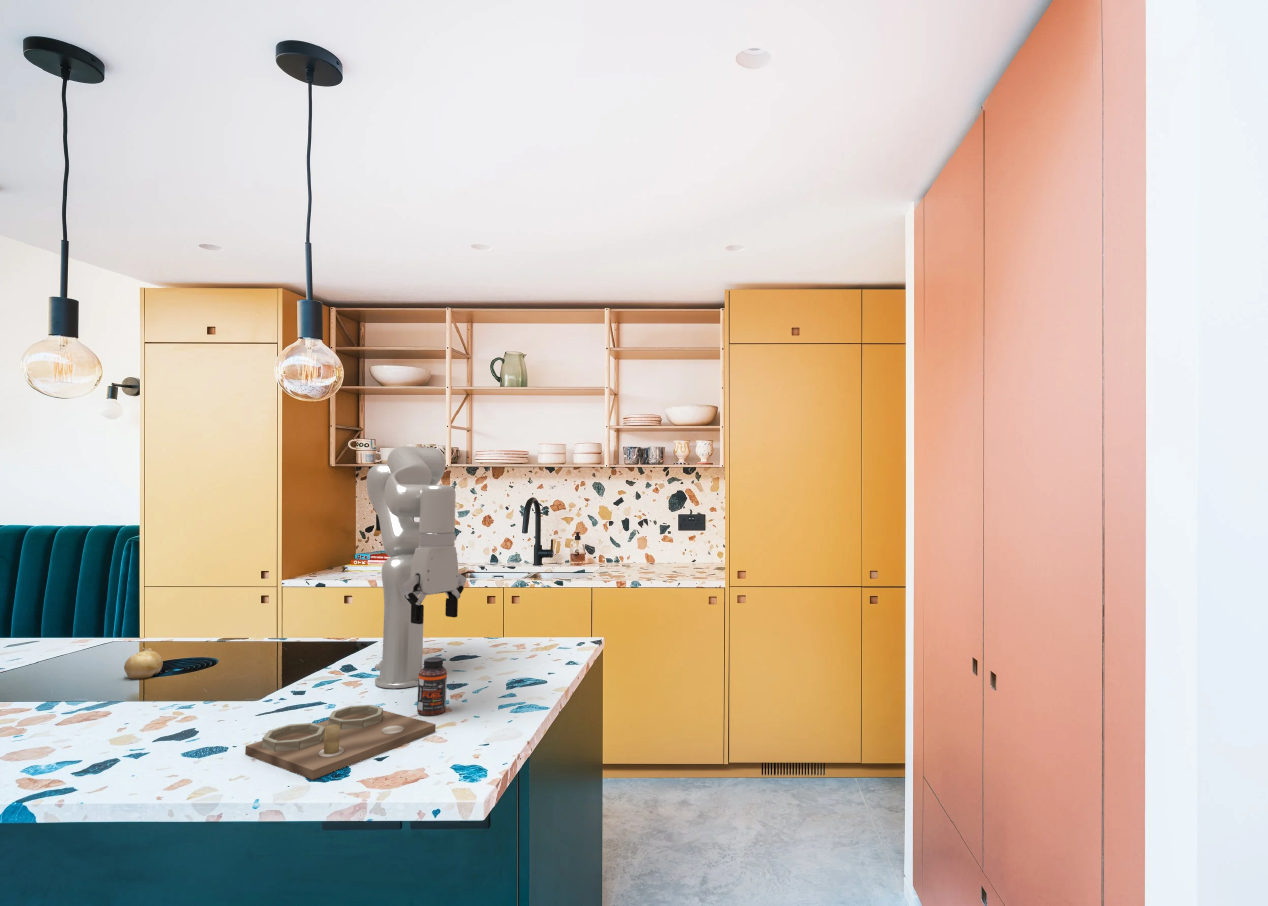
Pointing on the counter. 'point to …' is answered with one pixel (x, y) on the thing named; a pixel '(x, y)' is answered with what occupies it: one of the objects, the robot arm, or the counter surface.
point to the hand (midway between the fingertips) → (434, 620)
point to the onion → (143, 664)
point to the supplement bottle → (432, 687)
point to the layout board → (346, 741)
